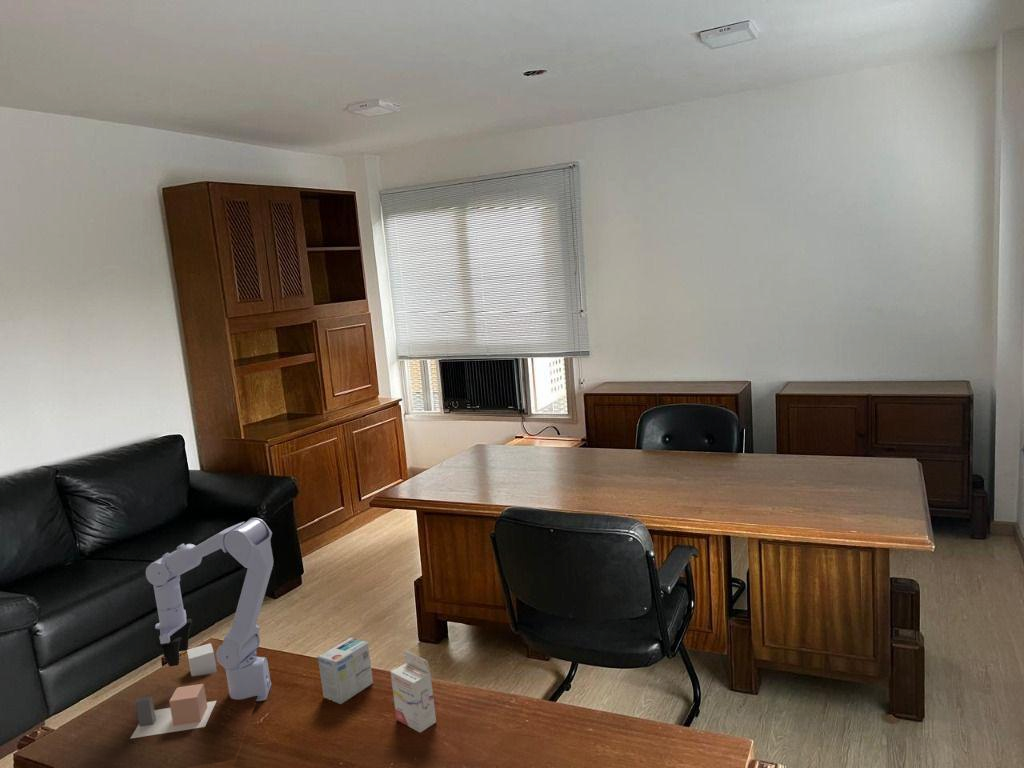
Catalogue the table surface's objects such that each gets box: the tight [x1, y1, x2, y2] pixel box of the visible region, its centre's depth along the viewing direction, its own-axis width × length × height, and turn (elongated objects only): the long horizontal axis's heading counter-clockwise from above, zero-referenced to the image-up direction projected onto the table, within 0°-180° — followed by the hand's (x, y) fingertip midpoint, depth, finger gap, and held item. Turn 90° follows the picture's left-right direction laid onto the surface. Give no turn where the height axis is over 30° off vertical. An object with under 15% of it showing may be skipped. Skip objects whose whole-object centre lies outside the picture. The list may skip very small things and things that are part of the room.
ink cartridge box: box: [390, 650, 437, 733], centre depth 169 cm, size 9×5×15 cm, turn 47°
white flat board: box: [129, 695, 217, 739], centre depth 178 cm, size 16×11×7 cm
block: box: [168, 683, 208, 726], centre depth 178 cm, size 6×6×6 cm
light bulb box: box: [317, 637, 374, 705], centre depth 185 cm, size 11×7×11 cm, turn 144°
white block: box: [186, 643, 218, 677], centre depth 202 cm, size 6×6×6 cm
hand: (178, 657), depth 191 cm, fingers open, 7 cm apart
